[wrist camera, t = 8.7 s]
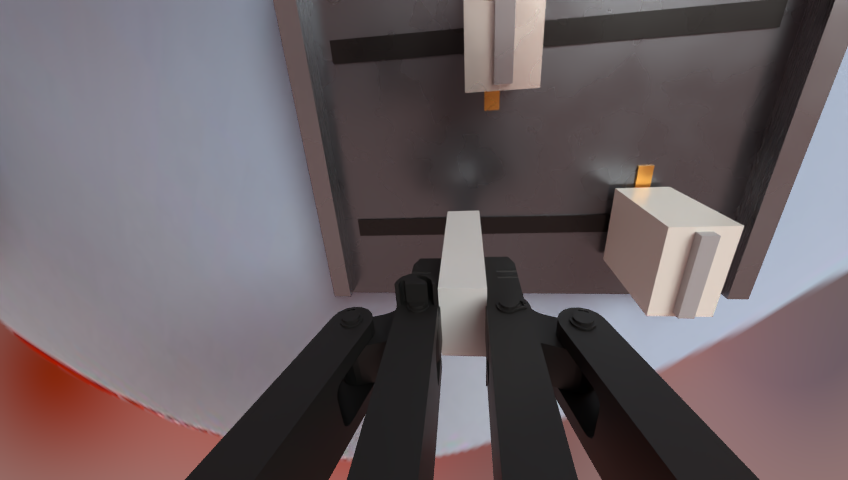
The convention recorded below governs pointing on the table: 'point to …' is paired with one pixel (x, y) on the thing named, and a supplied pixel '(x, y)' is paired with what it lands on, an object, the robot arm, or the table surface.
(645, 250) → the fader tab
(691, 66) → the console
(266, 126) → the table surface
